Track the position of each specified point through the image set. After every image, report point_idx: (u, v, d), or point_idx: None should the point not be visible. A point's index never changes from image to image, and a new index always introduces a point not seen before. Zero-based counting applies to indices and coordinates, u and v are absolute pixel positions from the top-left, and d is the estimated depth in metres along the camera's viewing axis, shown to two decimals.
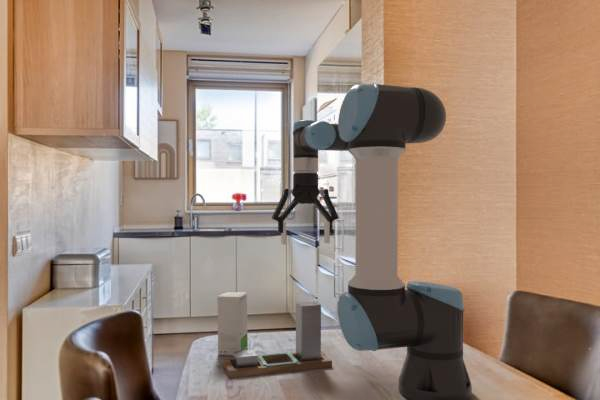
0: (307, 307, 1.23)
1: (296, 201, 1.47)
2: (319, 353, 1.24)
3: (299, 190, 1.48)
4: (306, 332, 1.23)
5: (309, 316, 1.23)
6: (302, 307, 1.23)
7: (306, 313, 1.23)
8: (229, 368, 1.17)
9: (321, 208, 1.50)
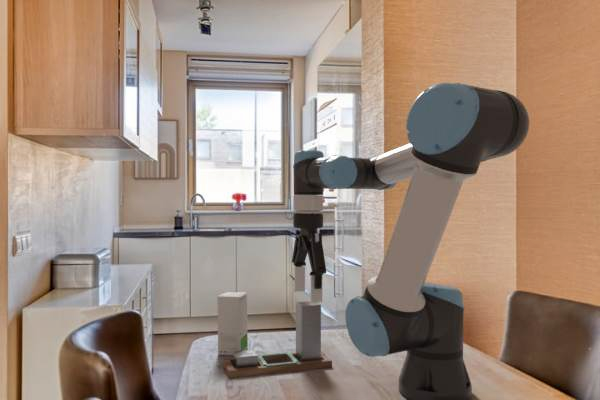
0: (307, 307, 1.23)
1: (297, 245, 1.29)
2: (319, 353, 1.24)
3: (301, 232, 1.28)
4: (306, 332, 1.23)
5: (309, 316, 1.23)
6: (302, 307, 1.23)
7: (306, 313, 1.23)
8: (229, 368, 1.17)
9: (309, 257, 1.21)
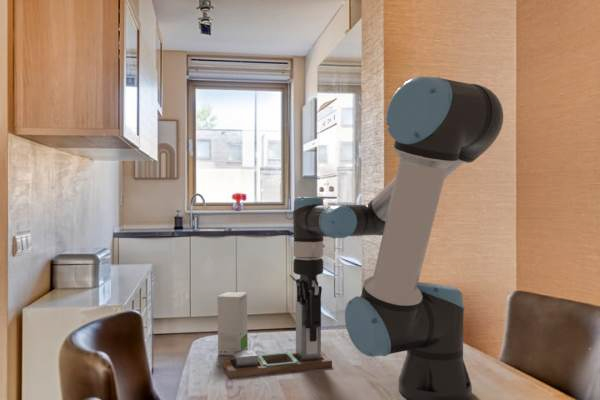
0: None
1: (299, 293, 1.28)
2: (319, 353, 1.24)
3: (301, 276, 1.28)
4: None
5: None
6: (302, 307, 1.23)
7: (306, 313, 1.23)
8: (229, 368, 1.17)
9: None
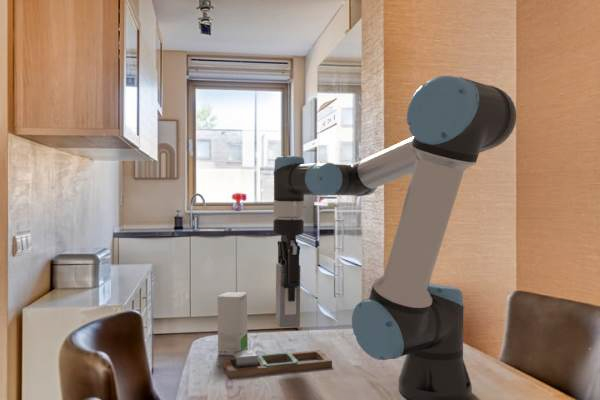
0: None
1: (279, 254, 1.27)
2: (298, 314, 1.23)
3: (281, 237, 1.27)
4: None
5: None
6: (281, 267, 1.22)
7: (285, 273, 1.22)
8: (229, 368, 1.17)
9: None
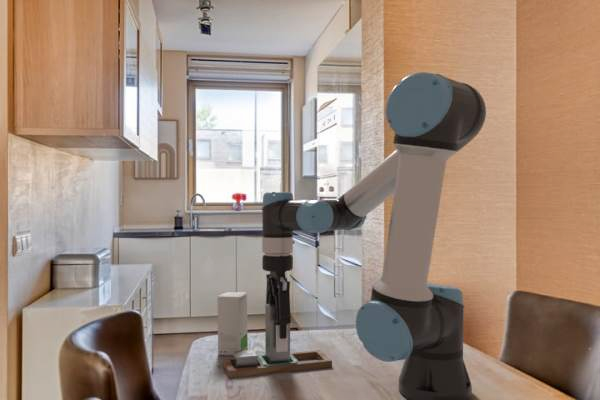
0: None
1: (268, 289, 1.26)
2: (288, 356, 1.22)
3: (270, 273, 1.26)
4: (275, 335, 1.21)
5: None
6: (270, 309, 1.21)
7: (275, 315, 1.21)
8: (229, 368, 1.17)
9: (276, 303, 1.20)
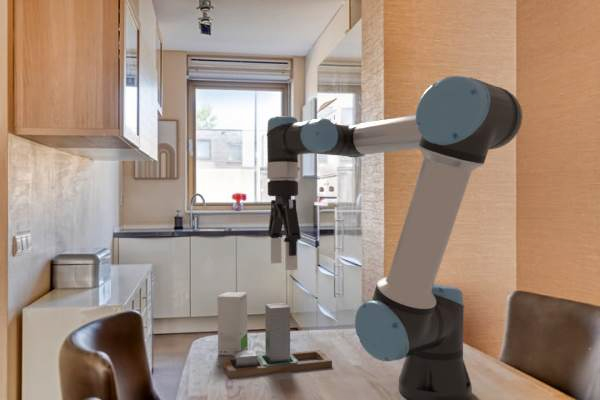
0: (276, 309, 1.21)
1: (272, 214, 1.26)
2: (288, 356, 1.22)
3: (276, 201, 1.25)
4: (275, 335, 1.21)
5: (278, 318, 1.21)
6: (271, 309, 1.21)
7: (275, 315, 1.21)
8: (229, 368, 1.17)
9: (283, 224, 1.19)
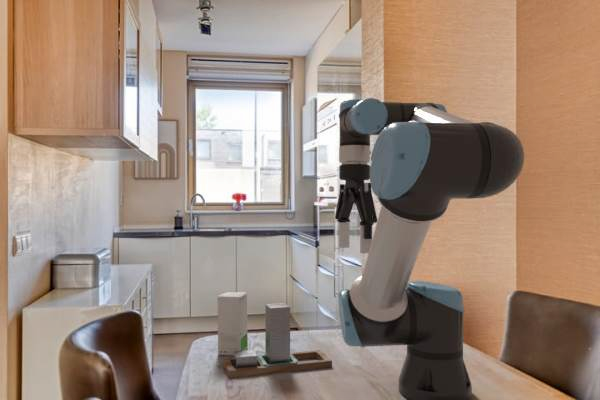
0: (276, 309, 1.21)
1: (343, 198, 1.26)
2: (288, 356, 1.22)
3: (347, 185, 1.25)
4: (275, 335, 1.21)
5: (278, 318, 1.21)
6: (271, 309, 1.21)
7: (275, 315, 1.21)
8: (229, 368, 1.17)
9: (357, 207, 1.18)
